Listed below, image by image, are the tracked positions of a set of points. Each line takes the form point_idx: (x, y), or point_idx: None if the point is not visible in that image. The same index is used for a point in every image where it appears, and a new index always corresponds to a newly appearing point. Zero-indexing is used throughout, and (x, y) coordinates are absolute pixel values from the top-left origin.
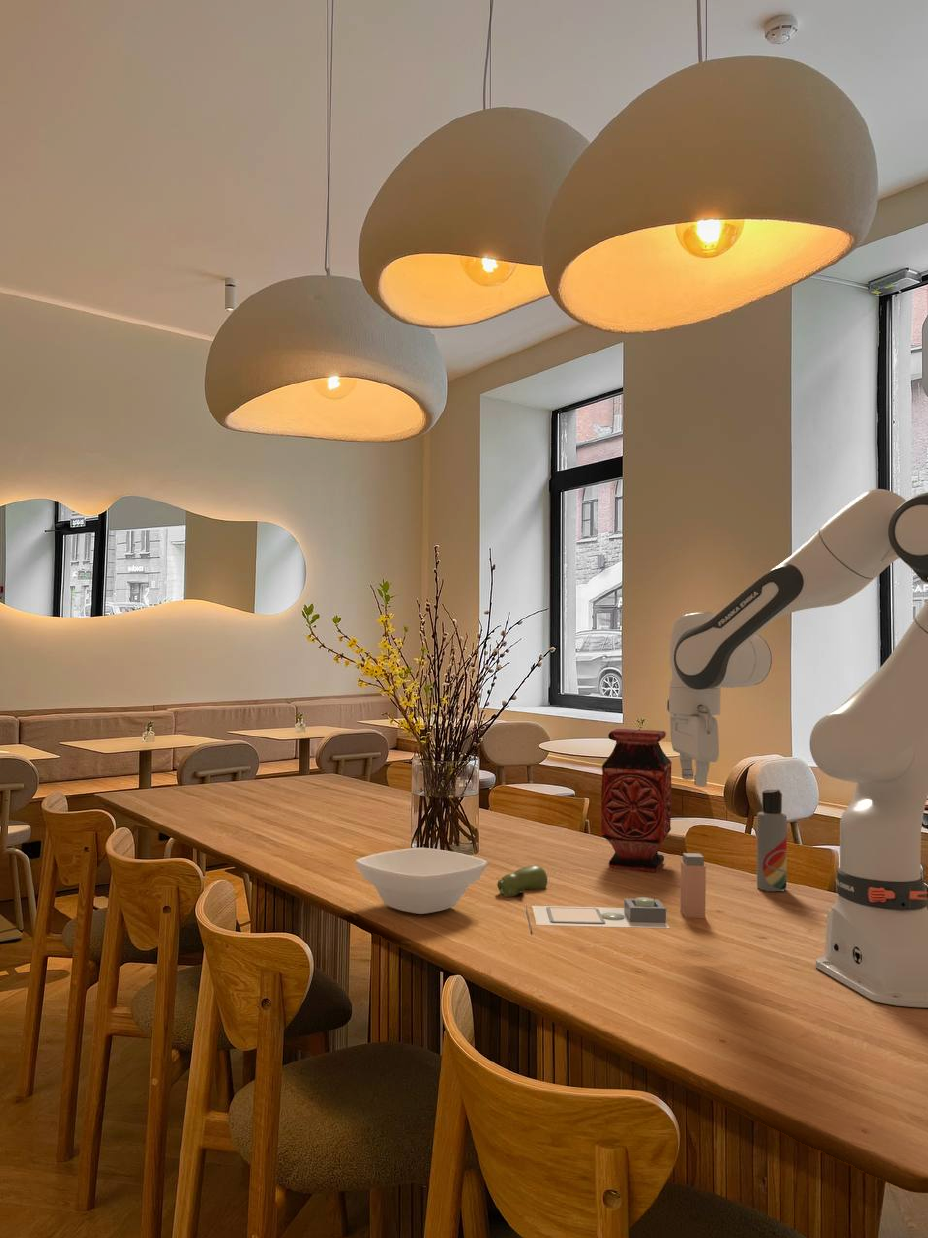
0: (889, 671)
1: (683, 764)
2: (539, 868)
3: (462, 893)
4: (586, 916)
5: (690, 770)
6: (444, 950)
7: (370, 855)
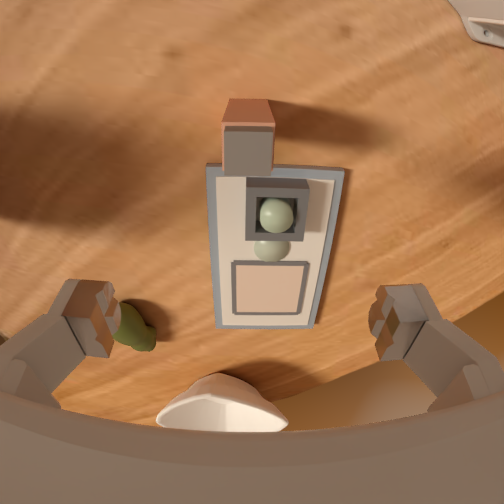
0: None
1: (63, 370)
2: (121, 329)
3: (222, 380)
4: (276, 279)
5: (96, 329)
6: (350, 369)
7: None
